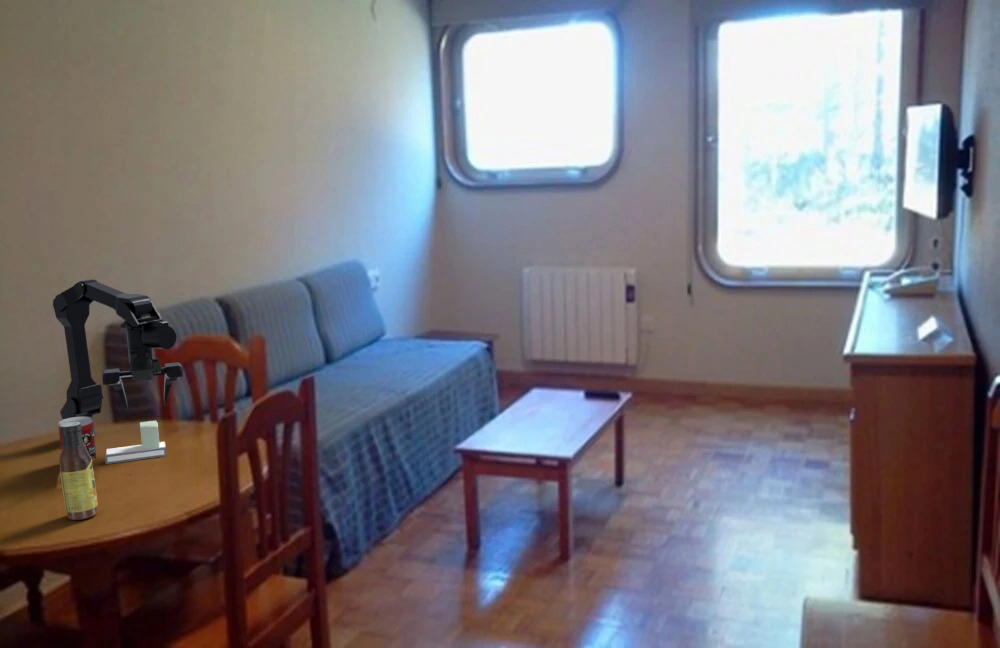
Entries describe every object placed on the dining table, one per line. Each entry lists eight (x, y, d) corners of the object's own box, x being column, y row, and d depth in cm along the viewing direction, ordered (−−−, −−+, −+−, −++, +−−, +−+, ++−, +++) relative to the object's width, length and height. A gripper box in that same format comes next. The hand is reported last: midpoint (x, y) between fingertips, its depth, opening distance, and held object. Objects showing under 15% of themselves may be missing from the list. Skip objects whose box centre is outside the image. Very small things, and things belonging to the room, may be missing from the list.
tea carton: (142, 451, 234) (140, 428, 233) (142, 444, 240) (139, 422, 239) (160, 449, 236) (157, 426, 235) (159, 442, 241) (157, 420, 240)
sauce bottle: (104, 514, 195) (93, 423, 192) (74, 524, 190) (63, 430, 187) (89, 507, 199) (79, 418, 196) (60, 516, 195) (49, 424, 191)
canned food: (73, 471, 224) (68, 426, 222) (56, 465, 229) (51, 422, 227) (103, 462, 230) (98, 419, 228) (86, 456, 235) (81, 414, 233)
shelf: (107, 452, 238) (105, 441, 237) (165, 445, 243) (163, 434, 242) (105, 467, 226) (104, 456, 225) (167, 459, 231) (165, 447, 230)
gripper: (98, 356, 223) (105, 419, 225) (181, 348, 229) (186, 409, 232) (100, 347, 233) (106, 408, 236) (178, 340, 239) (184, 399, 242)
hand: (146, 406), depth 236 cm, fingers open, 9 cm apart
